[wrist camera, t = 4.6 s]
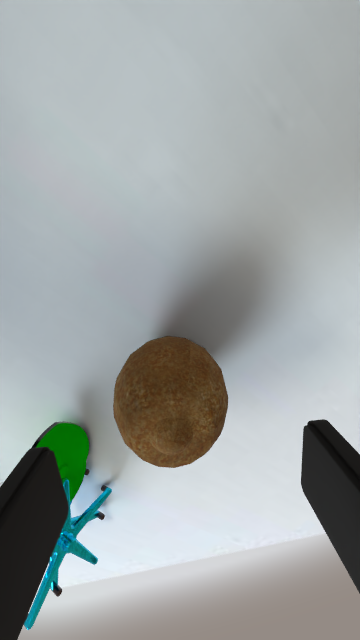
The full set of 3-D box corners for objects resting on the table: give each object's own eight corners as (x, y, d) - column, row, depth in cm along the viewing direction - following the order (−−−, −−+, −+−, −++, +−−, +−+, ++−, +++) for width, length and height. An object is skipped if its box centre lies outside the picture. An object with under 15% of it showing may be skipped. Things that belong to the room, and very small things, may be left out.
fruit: (109, 366, 17) (60, 457, 9) (165, 302, 16) (162, 345, 8) (174, 414, 18) (178, 528, 11) (230, 357, 17) (279, 438, 10)
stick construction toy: (118, 559, 19) (4, 684, 12) (68, 521, 23) (-39, 602, 16) (115, 407, 19) (1, 452, 13) (66, 395, 23) (-40, 425, 17)
